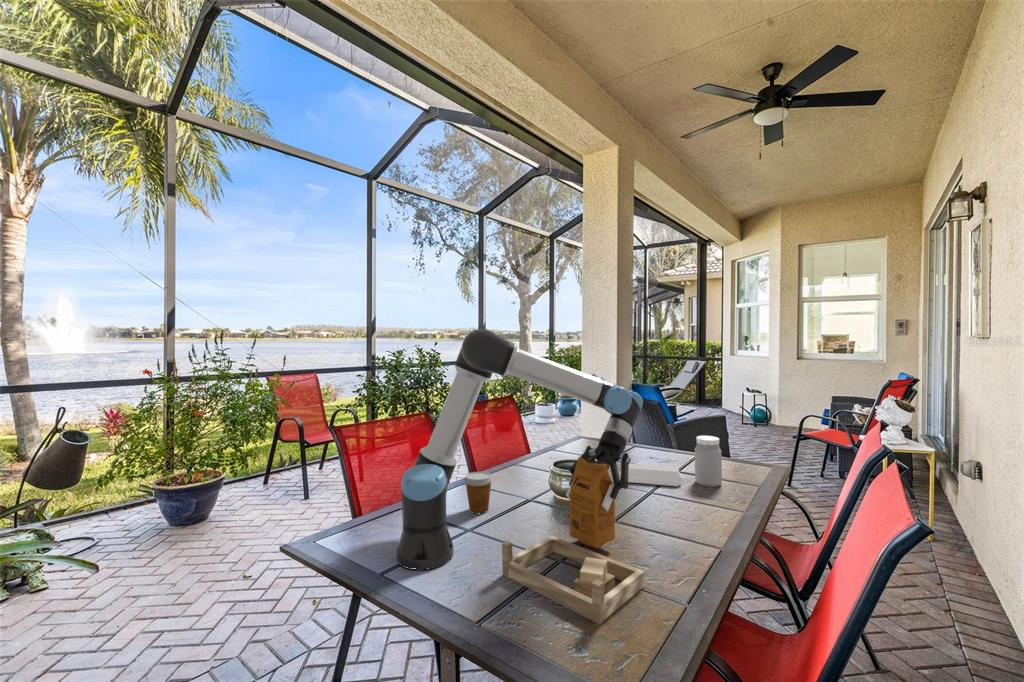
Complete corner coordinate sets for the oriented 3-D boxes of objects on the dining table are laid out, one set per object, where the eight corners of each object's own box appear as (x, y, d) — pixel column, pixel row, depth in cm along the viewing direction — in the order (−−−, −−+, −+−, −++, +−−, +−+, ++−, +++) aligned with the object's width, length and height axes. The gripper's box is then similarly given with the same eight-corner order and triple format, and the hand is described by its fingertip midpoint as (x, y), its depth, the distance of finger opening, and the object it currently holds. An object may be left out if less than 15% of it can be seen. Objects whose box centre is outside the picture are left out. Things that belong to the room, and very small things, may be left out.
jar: (689, 481, 179) (688, 436, 179) (707, 478, 184) (706, 434, 183) (709, 489, 171) (708, 441, 170) (727, 485, 175) (727, 438, 174)
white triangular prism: (682, 471, 181) (620, 466, 189) (682, 466, 175) (619, 462, 183) (682, 490, 178) (620, 484, 186) (683, 486, 172) (618, 480, 180)
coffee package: (588, 525, 135) (587, 452, 134) (620, 541, 125) (619, 462, 124) (563, 534, 129) (562, 458, 129) (594, 552, 119) (593, 469, 119)
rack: (599, 624, 93) (599, 586, 92) (502, 575, 112) (502, 543, 112) (645, 586, 106) (644, 552, 106) (551, 548, 126) (551, 519, 126)
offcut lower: (596, 603, 101) (596, 590, 100) (574, 593, 105) (574, 580, 105) (615, 588, 106) (614, 575, 106) (593, 579, 110) (593, 567, 110)
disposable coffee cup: (480, 518, 147) (479, 481, 147) (459, 512, 153) (458, 476, 153) (498, 509, 155) (498, 474, 155) (477, 503, 161) (477, 469, 160)
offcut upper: (602, 588, 101) (602, 575, 101) (580, 584, 103) (580, 571, 103) (607, 572, 108) (607, 560, 108) (586, 569, 110) (586, 556, 110)
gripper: (656, 450, 129) (629, 521, 118) (587, 438, 146) (558, 499, 135) (647, 435, 125) (618, 506, 115) (577, 424, 142) (546, 486, 131)
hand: (586, 502), depth 125 cm, fingers closed on coffee package, 11 cm apart
